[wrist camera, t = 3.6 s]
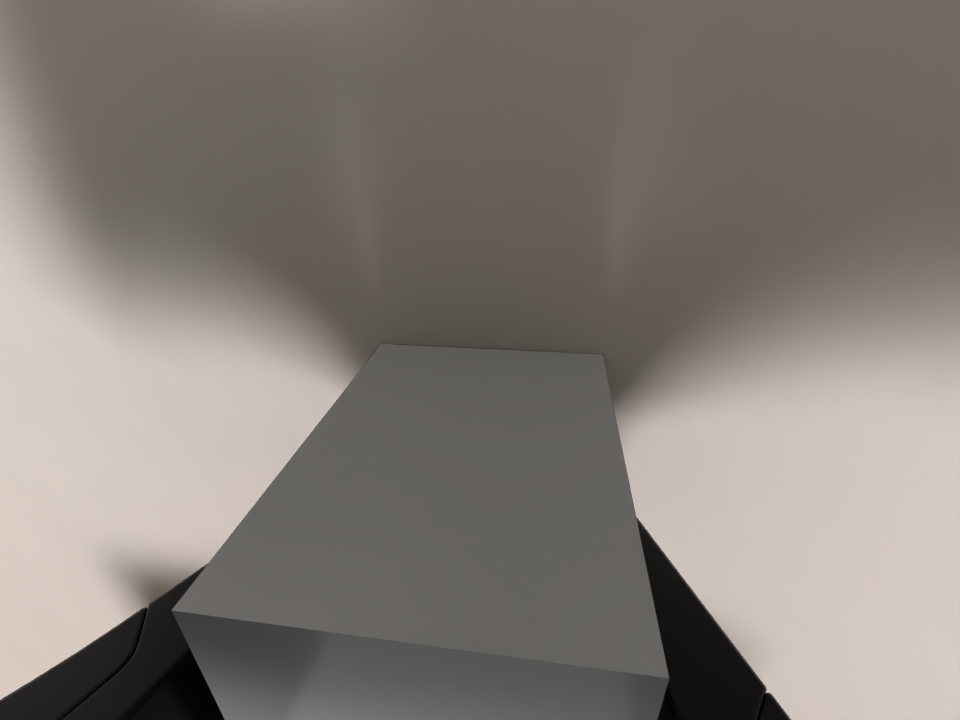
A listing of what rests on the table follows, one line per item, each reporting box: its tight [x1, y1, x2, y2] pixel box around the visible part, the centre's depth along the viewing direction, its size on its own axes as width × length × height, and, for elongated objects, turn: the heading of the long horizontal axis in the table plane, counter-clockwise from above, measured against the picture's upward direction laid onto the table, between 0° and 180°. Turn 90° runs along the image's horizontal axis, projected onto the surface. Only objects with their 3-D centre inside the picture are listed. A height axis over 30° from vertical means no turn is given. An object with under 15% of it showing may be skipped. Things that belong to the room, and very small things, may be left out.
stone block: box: [171, 344, 669, 720], centre depth 8 cm, size 4×4×6 cm
